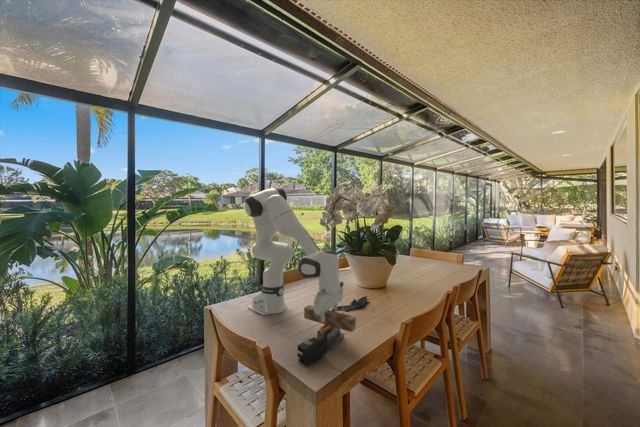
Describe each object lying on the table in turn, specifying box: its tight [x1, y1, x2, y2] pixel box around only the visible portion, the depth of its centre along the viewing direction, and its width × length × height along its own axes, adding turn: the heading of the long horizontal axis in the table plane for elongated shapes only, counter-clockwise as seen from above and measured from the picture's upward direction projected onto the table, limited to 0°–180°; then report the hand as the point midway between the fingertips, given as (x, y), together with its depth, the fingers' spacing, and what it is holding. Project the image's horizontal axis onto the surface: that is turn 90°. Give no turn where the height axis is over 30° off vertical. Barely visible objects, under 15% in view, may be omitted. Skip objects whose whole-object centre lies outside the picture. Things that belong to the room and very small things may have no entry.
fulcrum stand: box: [316, 324, 345, 351], centre depth 114 cm, size 8×13×8 cm, turn 149°
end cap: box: [297, 337, 328, 366], centre depth 101 cm, size 10×7×7 cm
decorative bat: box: [337, 295, 369, 312], centre depth 152 cm, size 30×4×10 cm
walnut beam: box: [303, 304, 357, 333], centre depth 114 cm, size 24×4×5 cm, turn 59°
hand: (328, 317), depth 114 cm, fingers open, 8 cm apart
